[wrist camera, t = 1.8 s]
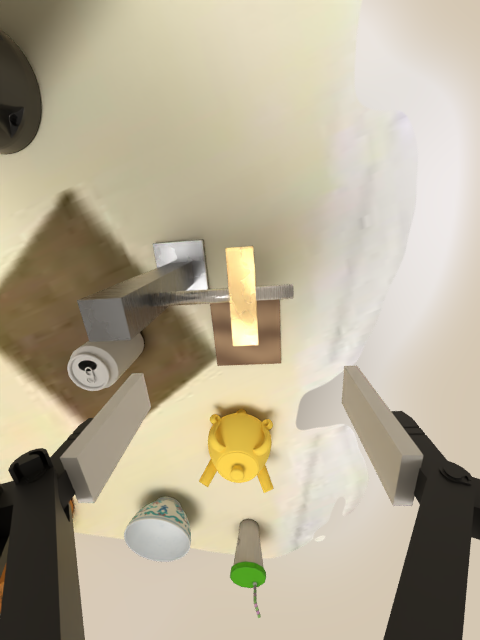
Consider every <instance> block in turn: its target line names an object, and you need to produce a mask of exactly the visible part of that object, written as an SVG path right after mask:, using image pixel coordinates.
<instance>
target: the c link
mask: <svg viewBox="0 0 480 640" xmlns="http://www.w3.org/2000/svg"><path fill="white" fill-rule="evenodd" d="M225 249H226V262H227V275H228V287H229V300H230V313H231V325H232V338H233V346H245V345H258V315H257V301H256V290H255V286H256V278H255V259H254V248H253V246H247V247H233V248H225Z"/></svg>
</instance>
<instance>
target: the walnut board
mask: <svg viewBox="0 0 480 640" xmlns="http://www.w3.org/2000/svg"><path fill="white" fill-rule="evenodd" d="M210 306H211V315H212V323H213V331H214V340H215V348H216V356H217V364H218V366H222V365H249V364H275V363H281V344H280V300H279V299H275V300H258V301H257V315H258V345H245V346H233V338H232V325H231V313H230V302H223V303H210Z"/></svg>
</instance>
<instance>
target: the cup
mask: <svg viewBox="0 0 480 640" xmlns="http://www.w3.org/2000/svg"><path fill="white" fill-rule="evenodd" d="M230 578H231V580H232V581H233V582H234V583H235V584H237V585H239V586H241V587H247V588H253V587H254V605H255V609H256V612H257V615H258V618H260V613H259V609H258V606H257V602H256V587H259V586H260V585H262V584H263V583H264V582H265V579H266V572H265V570H264V568H263V560H262V553H261V545H260V537H259V529H258V524H257V522H255V521H254V520H250V519H246V520H243V521H242V522H241V523H240V529H239V535H238V541H237V547H236V553H235V559H234V565H233V566H232V568H231V574H230Z"/></svg>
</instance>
